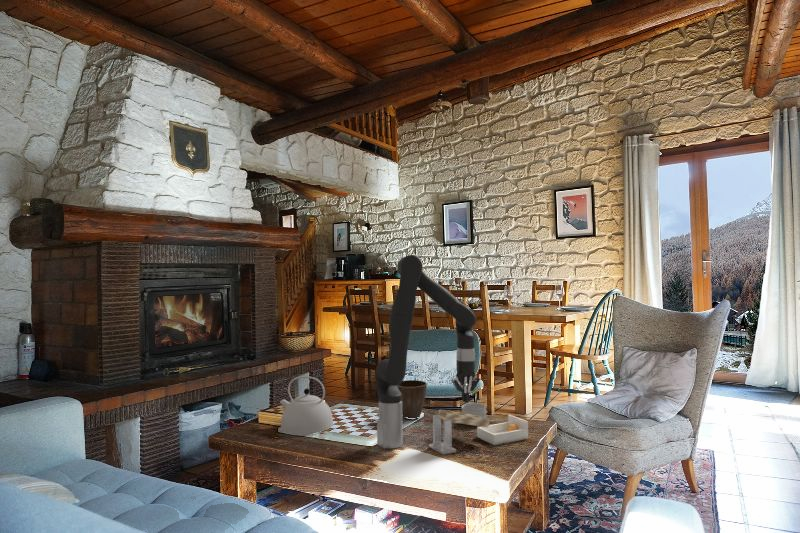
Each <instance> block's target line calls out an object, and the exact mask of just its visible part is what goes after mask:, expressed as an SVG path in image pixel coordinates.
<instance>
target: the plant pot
mask: <svg viewBox="0 0 800 533" xmlns="http://www.w3.org/2000/svg"><path fill="white" fill-rule="evenodd" d="M427 385H428V383H427V381H426V382H425V381H423V380H415V379H414V380H412V379H406V380H403V381H402V382H401V383H400V384H398V385H397V386H398V389H399V391H400V392H401V394H402V418H404V417H408V418H417V417H419V418H421V414H422V411H423V408H424V404H425V400H426V399H425V398H426V394H427Z"/></svg>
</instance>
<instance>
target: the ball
mask: <svg viewBox="0 0 800 533" xmlns="http://www.w3.org/2000/svg"><path fill="white" fill-rule="evenodd" d="M515 430H518V428H517V426H516V425H514V424H510V425H509V426H508V432H509V431H515Z"/></svg>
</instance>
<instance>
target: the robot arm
mask: <svg viewBox="0 0 800 533" xmlns="http://www.w3.org/2000/svg"><path fill="white" fill-rule="evenodd" d="M423 267H424V266H423V262H422V259H421V258H420V257H419V256H418V255H415V254H408V255H406V256H403V257H402V258H401V259H399V260H398V262H397V264H396V269H397V270H396V271H397V272H398V275H399V285H398V288H397V291H396V295H395V296H394V297H395V298H394V300H393V303H392V306H391V308H390V313H389V319H388V334H389V340H390V352H389V357H388V358H385V359H382V360H380V361H379V362H378V364H377V366H376V368H375V381H376V382H375V383H376V384H375V385H376V393H377V394H376V395H377V396H378V419H377V420H376V440H377V441H376V444H377V445H378V446H379V447H380V448H382V449H398V448H400V447H402V446H403V444H404V443H403V439H404V438H403V436H404V435H403V433H404V432H403V430H404V429H403V427H404V426H403V415H402V394H401V392H400V391H399V389H398V386H397V385H398V384H400V383H401V382H402V381H404V379H405V376H406V372H407V359H408V350H409V349H408V348H409V342H410V336H411V330H412V325H413V321H414V314H415V306H416V297H417V290H418V289H420V290H421V291H422V292H423V293H425V295H427V296H428V297H429V298H430V299H431V300H432V301H433V302H434V303H435V304H436V305H437V306H439V307H440V309H442V310H443V311H444V312H445V313H447V314H448V315H449V316H451V317H453V319H455V328H456V337H457V339H456V368H455V369H456V375H455V377H454V378H453V379H451V383H452V384H453V386H454V387H455V389H456V390H457V391H458V392H460V393H461V400H462V402H463V403H469V402H470V393H471V392H474V391H475V389H476V388H477V386H478V384H479V383H480V380H481V379H480V378H479V377H477V375H476V372H475V371H476V352H475V335H474V333H473V329H472V328H473V327H475V325H476V323H477V317H476V314H475V313H474V311H472V310H471V309H470V308H469V307H467V306H466V305H464V304H463V303H462V302H461V301H459V300H458V299H457V297H456V296H454V295H453V294H452V293H451V292H450V291H449V290H448V289H446V288H445V287H444V286H442V285H441V284H440V283H438V282H437V281H435V280H433V279H432V278H431V277H430V276H429V275H427V274H426V273H425V271H424V270H423Z"/></svg>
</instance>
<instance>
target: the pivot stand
mask: <svg viewBox="0 0 800 533" xmlns="http://www.w3.org/2000/svg"><path fill="white" fill-rule="evenodd" d="M452 423H453V422H452V421H451V420H450V419H449V420H443V419H441V418H438V414H435V415H432V440H433V441H432V443H429V444H428V447H429V448H430V449H432V450H434V452H437V453H439V454H440V455H443V456H444V455H448V454H449V455H450V454H454V453H457V449H456V448H455V447H453V446H452V445H453V443H452V442H453V440H452V439H453V437H452V435H453V434H452V433H453V432H452V426H453V424H452ZM442 426H443V428H442ZM442 430H443V431H442ZM442 433H443V436H442ZM442 437H443V438H442ZM442 440H443V441H442Z"/></svg>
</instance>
